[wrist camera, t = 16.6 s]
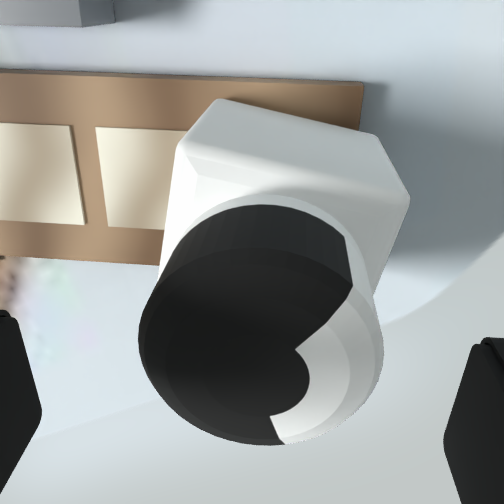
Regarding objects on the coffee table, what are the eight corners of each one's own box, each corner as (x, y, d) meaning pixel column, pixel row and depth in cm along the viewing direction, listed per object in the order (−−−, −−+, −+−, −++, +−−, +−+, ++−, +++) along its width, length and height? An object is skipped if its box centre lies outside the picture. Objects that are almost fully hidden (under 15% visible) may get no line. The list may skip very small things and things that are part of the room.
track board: (2, 244, 26) (-12, 256, 25) (-42, 67, 22) (-62, 71, 21) (338, 265, 25) (340, 278, 24) (360, 81, 20) (364, 86, 19)
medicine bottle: (189, 243, 23) (96, 445, 13) (214, 94, 20) (116, 203, 9) (331, 276, 23) (356, 503, 13) (380, 134, 20) (469, 286, 10)
